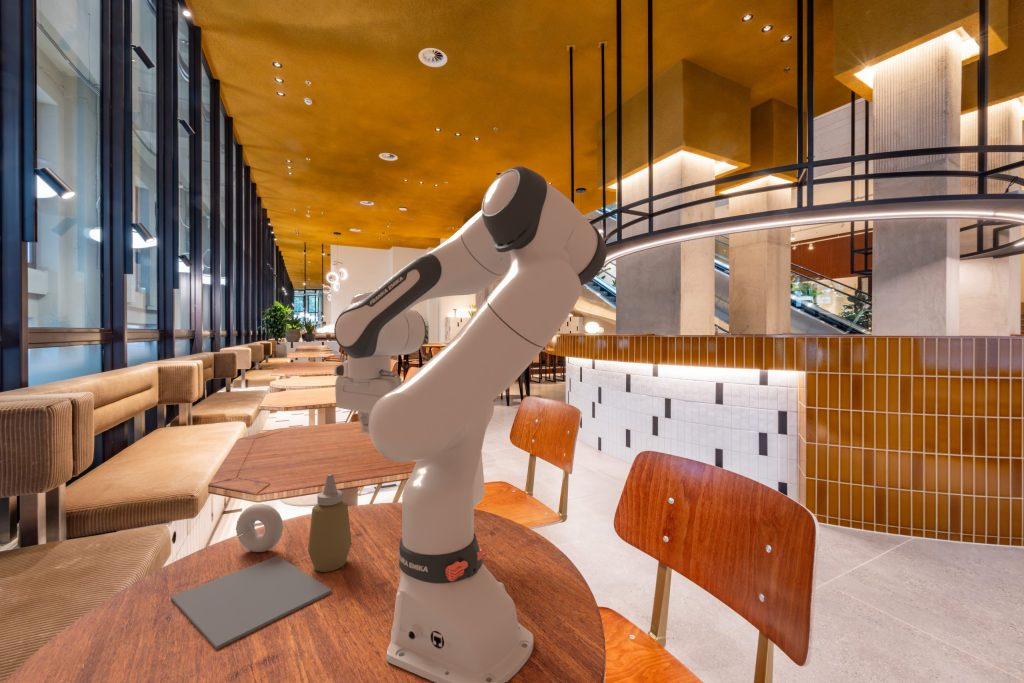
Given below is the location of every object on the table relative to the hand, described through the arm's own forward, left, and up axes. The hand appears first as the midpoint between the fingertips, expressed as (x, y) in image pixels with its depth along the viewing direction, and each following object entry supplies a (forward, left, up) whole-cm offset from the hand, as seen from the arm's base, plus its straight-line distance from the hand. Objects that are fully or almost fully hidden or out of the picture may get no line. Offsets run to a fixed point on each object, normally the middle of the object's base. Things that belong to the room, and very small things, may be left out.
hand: (369, 433), depth 95 cm
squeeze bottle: (0, +9, -25) cm, 27 cm away
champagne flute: (-19, -11, -25) cm, 33 cm away
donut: (+17, +15, -25) cm, 34 cm away
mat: (+1, +23, -25) cm, 34 cm away
